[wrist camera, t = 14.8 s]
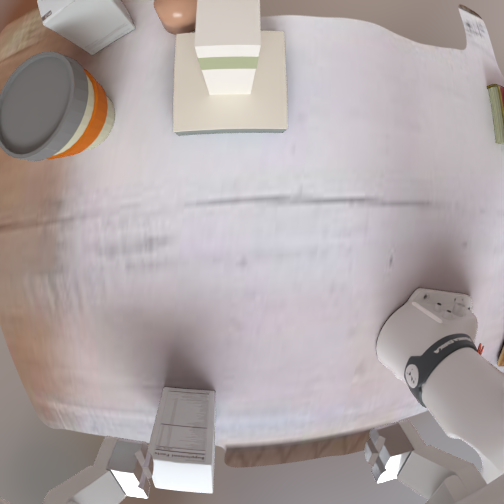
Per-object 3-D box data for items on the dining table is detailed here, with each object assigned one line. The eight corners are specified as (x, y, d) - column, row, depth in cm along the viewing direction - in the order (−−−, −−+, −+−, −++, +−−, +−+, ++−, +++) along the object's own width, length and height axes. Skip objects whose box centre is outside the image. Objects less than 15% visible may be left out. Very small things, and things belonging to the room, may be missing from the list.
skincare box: (126, 7, 31) (92, -41, 17) (137, 30, 33) (102, -19, 19) (81, 35, 32) (34, -2, 18) (90, 59, 33) (40, 24, 19)
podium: (279, 43, 35) (284, 31, 31) (282, 132, 38) (287, 128, 35) (181, 45, 34) (176, 34, 30) (178, 135, 38) (173, 131, 34)
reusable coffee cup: (80, 71, 34) (27, 40, 19) (142, 98, 36) (99, 64, 21) (43, 144, 36) (-20, 139, 22) (100, 176, 38) (42, 179, 24)
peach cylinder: (203, 2, 32) (200, -18, 27) (202, 32, 34) (198, 13, 28) (164, 7, 32) (156, -13, 26) (161, 37, 34) (152, 19, 28)
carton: (250, 58, 32) (260, -3, 17) (251, 94, 33) (261, 45, 19) (209, 59, 32) (196, -2, 17) (209, 95, 33) (193, 47, 18)
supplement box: (167, 420, 50) (152, 488, 33) (162, 385, 47) (142, 457, 31) (216, 424, 50) (214, 495, 34) (216, 390, 48) (212, 465, 32)
